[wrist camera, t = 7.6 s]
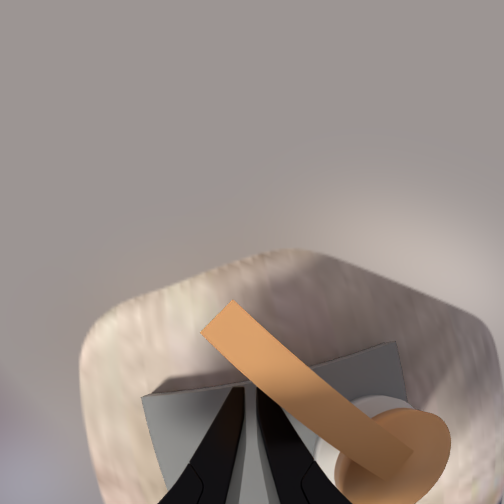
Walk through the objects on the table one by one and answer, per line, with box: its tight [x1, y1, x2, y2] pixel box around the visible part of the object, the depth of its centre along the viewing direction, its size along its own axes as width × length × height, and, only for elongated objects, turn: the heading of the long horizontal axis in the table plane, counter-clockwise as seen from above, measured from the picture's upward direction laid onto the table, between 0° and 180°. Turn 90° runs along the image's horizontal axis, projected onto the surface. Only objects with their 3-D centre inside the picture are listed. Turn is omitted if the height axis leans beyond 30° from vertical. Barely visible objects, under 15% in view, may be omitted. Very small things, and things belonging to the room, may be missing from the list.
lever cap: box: [200, 300, 451, 504], centre depth 8 cm, size 12×5×5 cm, turn 47°
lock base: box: [141, 341, 415, 504], centre depth 10 cm, size 14×14×4 cm
